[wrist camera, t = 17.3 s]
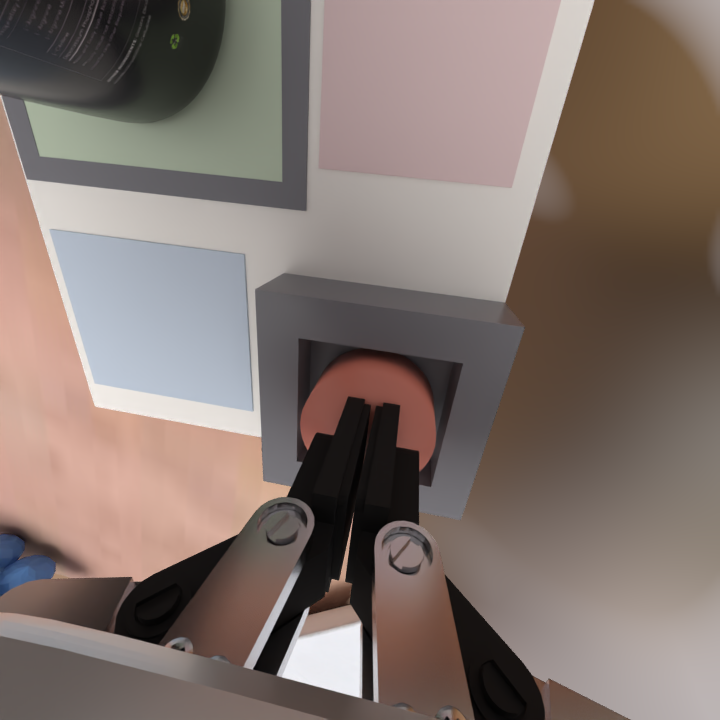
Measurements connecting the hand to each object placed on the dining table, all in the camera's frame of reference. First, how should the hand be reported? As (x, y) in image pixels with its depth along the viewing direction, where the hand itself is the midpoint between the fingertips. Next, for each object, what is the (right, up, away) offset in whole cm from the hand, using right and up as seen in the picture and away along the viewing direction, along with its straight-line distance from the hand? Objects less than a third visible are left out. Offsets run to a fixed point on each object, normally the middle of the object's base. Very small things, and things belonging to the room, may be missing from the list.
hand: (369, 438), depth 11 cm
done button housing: (0, +2, +3) cm, 3 cm away
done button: (0, +1, +2) cm, 2 cm away
